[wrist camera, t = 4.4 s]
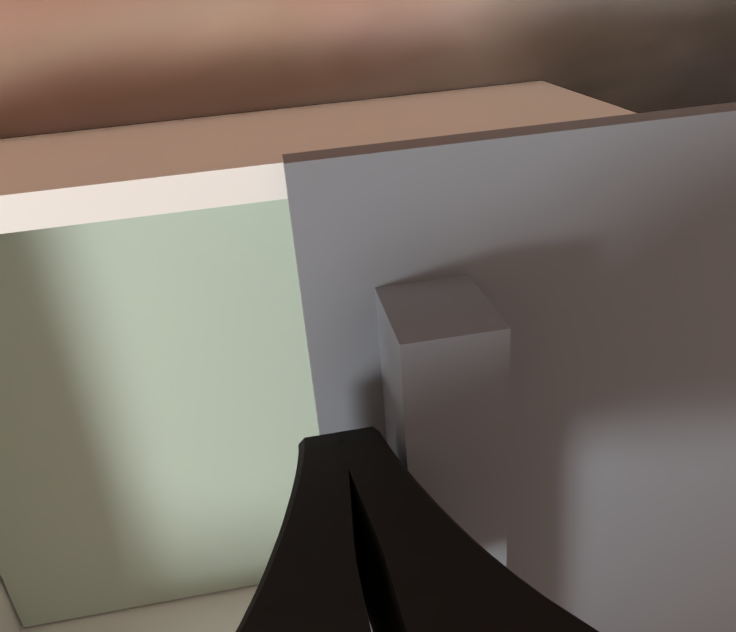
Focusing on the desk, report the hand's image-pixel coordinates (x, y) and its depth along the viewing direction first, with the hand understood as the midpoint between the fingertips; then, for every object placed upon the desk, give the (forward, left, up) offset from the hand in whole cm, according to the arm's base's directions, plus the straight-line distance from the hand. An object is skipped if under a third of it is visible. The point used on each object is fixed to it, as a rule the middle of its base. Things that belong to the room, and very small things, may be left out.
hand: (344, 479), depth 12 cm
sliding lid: (-2, -8, -2) cm, 8 cm away
